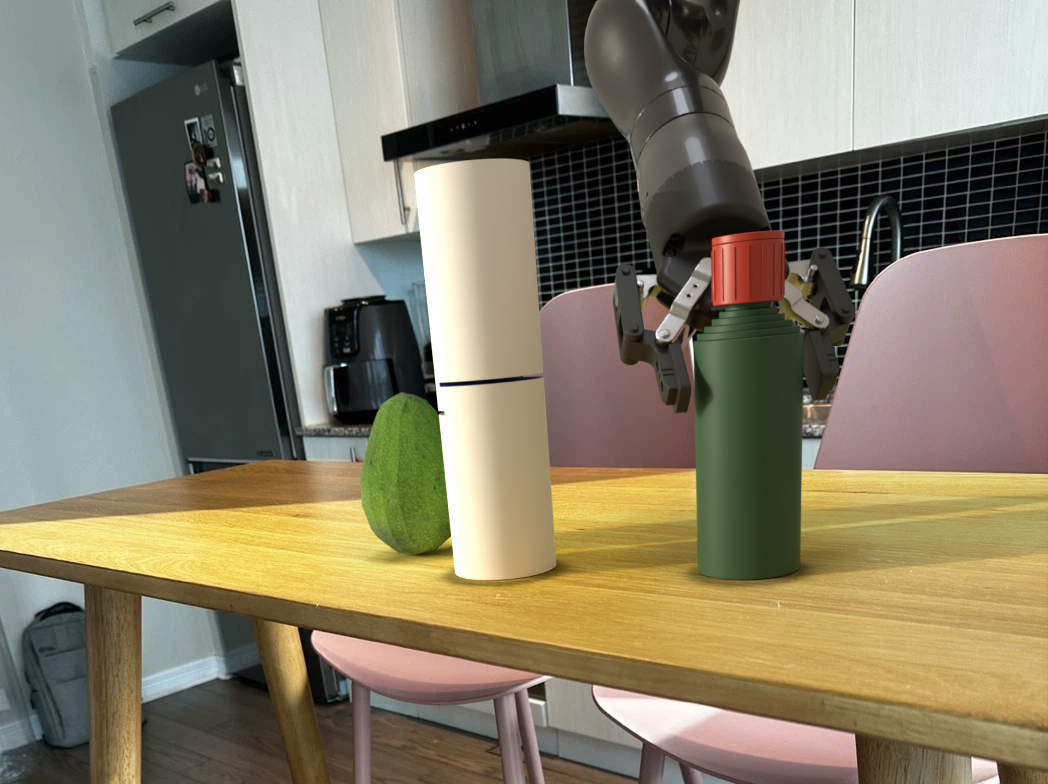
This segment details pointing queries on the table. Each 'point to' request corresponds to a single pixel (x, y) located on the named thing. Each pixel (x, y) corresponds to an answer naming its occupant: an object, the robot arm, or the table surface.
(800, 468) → the bottle
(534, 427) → the cylindrical container
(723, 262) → the cap
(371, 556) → the table surface
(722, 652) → the table surface
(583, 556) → the table surface
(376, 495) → the avocado
